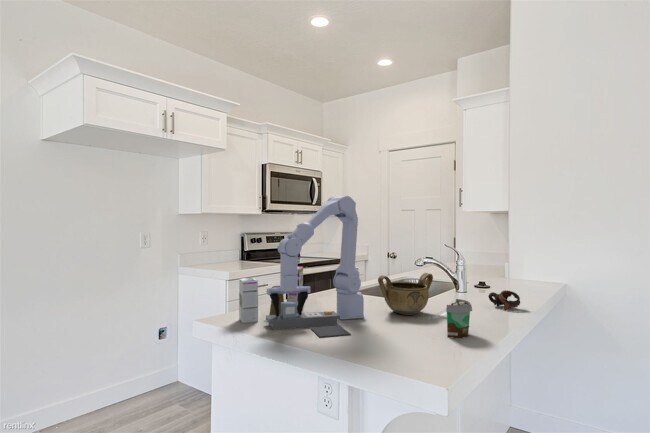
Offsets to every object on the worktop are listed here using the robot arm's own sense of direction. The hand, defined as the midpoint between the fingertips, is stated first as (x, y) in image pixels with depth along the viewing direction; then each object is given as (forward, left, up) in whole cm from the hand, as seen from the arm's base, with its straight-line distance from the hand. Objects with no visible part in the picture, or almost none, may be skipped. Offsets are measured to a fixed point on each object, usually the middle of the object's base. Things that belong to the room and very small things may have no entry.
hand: (288, 315), depth 130 cm
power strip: (-5, 0, -3) cm, 6 cm away
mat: (-11, +11, -3) cm, 16 cm away
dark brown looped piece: (-91, -2, -4) cm, 91 cm away
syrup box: (+12, -10, -4) cm, 16 cm away
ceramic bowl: (-47, -5, -4) cm, 47 cm away
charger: (0, 0, -2) cm, 2 cm away
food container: (-49, +26, -4) cm, 55 cm away
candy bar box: (-8, -24, -4) cm, 26 cm away
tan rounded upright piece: (+1, -14, -4) cm, 14 cm away
